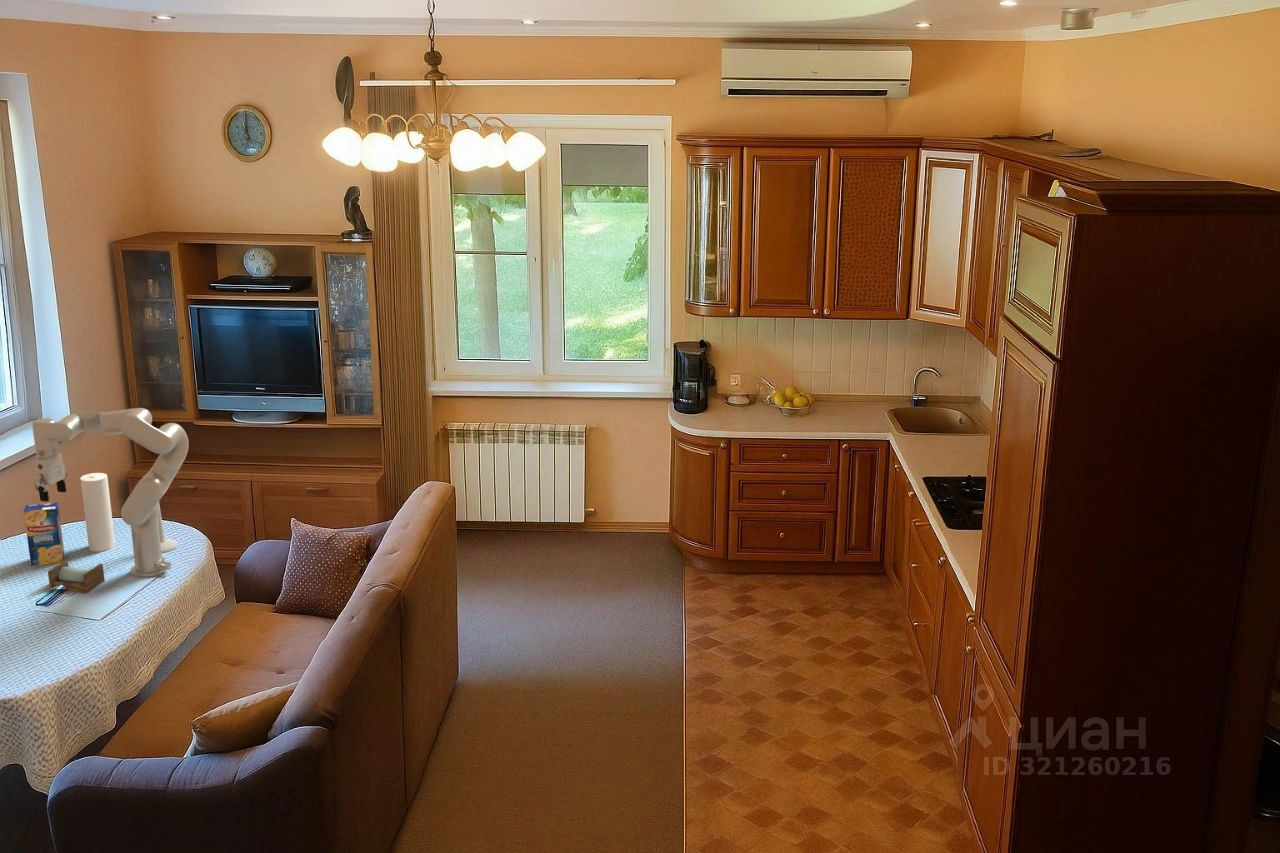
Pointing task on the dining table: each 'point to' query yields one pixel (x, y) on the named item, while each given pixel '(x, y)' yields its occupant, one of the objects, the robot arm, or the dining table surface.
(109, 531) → the cylinder container
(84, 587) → the holder
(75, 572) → the roll
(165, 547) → the candlestick
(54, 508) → the beverage box
